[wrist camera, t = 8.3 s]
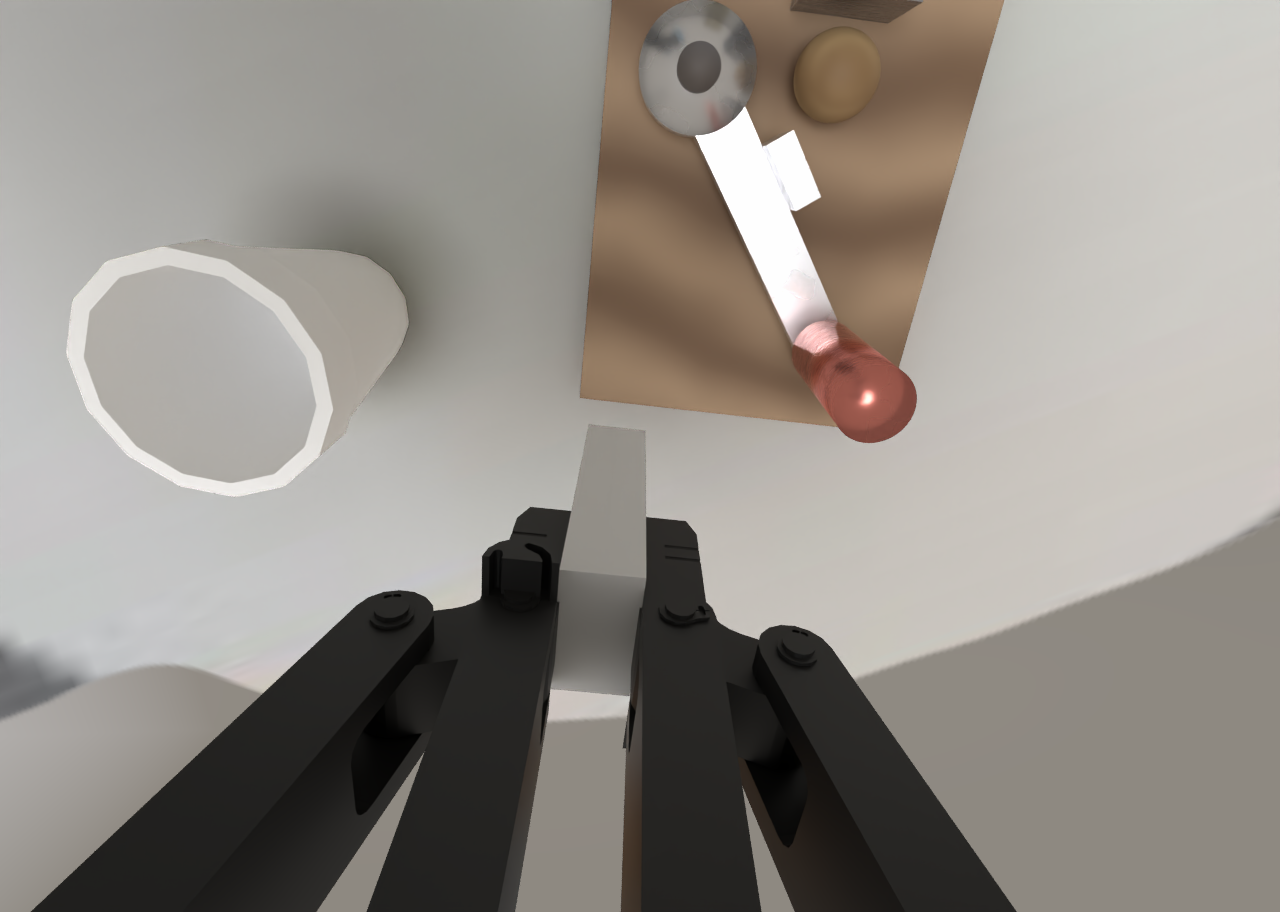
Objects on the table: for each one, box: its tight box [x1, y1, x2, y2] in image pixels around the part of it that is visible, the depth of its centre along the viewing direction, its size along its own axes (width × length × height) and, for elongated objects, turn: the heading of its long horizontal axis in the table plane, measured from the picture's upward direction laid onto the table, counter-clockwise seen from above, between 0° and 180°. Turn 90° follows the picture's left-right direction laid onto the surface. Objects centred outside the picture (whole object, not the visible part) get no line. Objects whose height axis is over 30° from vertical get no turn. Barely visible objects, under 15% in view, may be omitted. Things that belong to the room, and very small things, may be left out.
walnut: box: [794, 26, 881, 123], centre depth 28 cm, size 4×4×4 cm
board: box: [580, 0, 1004, 427], centre depth 31 cm, size 22×17×5 cm
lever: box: [639, 0, 917, 443], centre depth 27 cm, size 18×5×10 cm, turn 29°
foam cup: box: [66, 240, 409, 497], centre depth 30 cm, size 10×9×13 cm
